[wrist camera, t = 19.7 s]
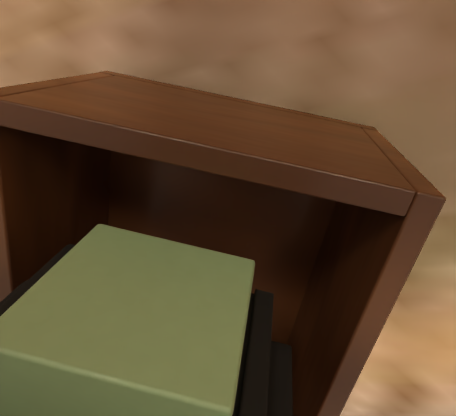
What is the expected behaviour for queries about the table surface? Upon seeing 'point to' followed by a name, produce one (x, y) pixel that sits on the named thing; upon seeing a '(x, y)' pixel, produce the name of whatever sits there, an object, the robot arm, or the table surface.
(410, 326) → the table surface
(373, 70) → the table surface
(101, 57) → the table surface
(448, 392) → the table surface
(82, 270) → the block
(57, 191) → the chest
